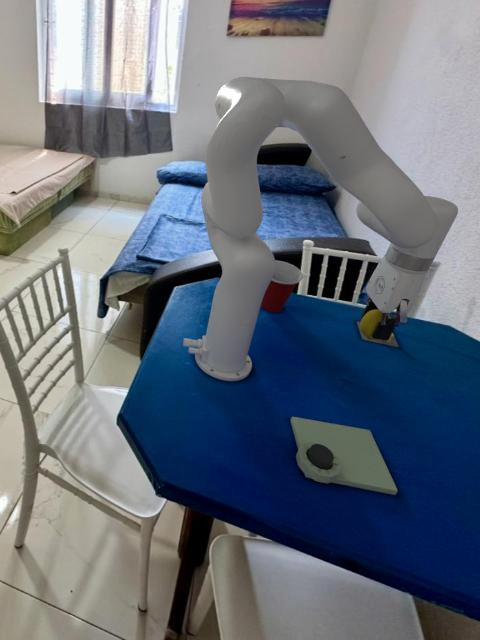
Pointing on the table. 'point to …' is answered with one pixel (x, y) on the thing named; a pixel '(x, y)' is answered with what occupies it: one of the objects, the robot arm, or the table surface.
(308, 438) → the scale
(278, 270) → the plastic cup
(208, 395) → the table surface
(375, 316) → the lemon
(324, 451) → the button
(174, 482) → the table surface
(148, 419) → the table surface
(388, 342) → the dice set
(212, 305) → the robot arm
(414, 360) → the table surface
